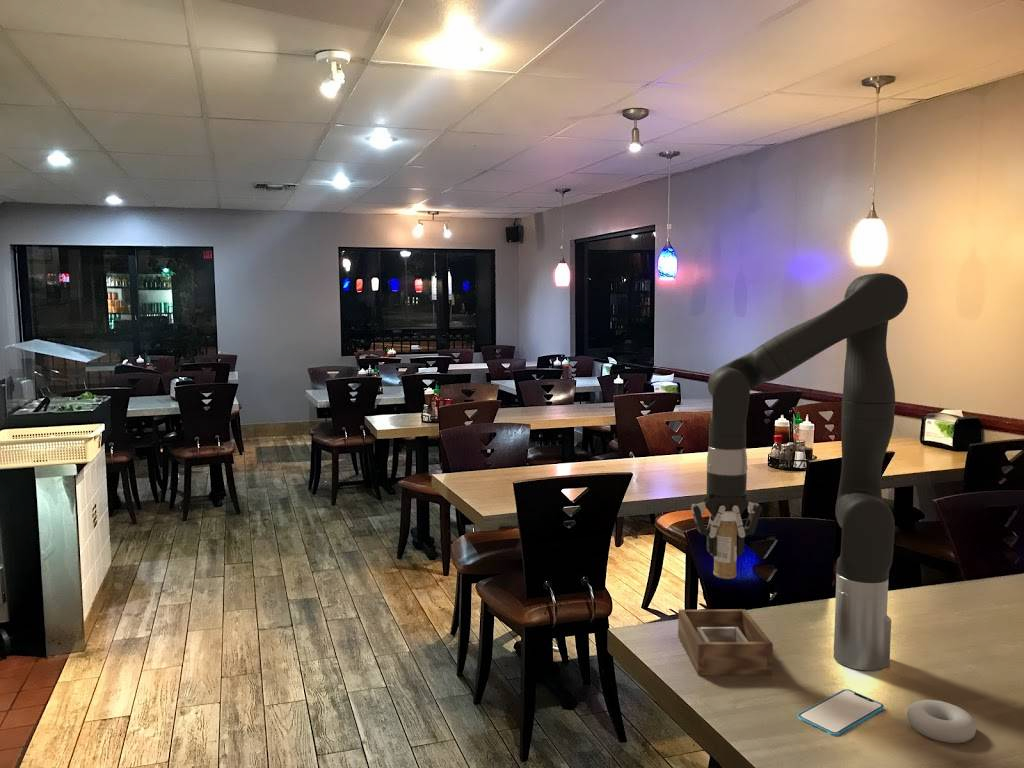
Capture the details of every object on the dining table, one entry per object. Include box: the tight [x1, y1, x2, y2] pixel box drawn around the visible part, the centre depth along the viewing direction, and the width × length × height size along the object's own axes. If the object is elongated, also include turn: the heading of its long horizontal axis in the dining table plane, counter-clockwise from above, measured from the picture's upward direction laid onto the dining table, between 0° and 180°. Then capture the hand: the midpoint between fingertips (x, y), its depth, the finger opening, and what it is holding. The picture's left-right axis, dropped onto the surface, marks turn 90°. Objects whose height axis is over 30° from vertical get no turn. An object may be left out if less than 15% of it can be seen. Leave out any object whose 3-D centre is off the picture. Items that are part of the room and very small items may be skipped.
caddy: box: [677, 608, 774, 676], centre depth 154 cm, size 14×17×6 cm
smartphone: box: [797, 688, 885, 737], centre depth 131 cm, size 8×1×15 cm
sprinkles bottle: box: [712, 511, 738, 580], centre depth 152 cm, size 5×5×13 cm
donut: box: [906, 699, 977, 744], centre depth 126 cm, size 10×4×10 cm
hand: (725, 554), depth 152 cm, fingers closed on sprinkles bottle, 4 cm apart
